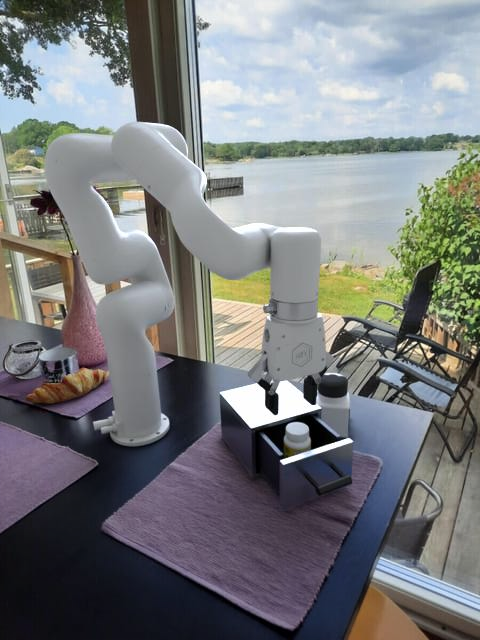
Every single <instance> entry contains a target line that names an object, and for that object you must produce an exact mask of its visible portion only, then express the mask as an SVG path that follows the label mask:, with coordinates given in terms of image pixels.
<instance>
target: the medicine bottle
mask: <svg viewBox="0 0 480 640" xmlns="http://www.w3.org/2000/svg"><path fill="white" fill-rule="evenodd" d="M348 389H349V380H348V378H347V377H346V376H344V375H343V374H341V373H336V372H326V373H325V374H324V375H323V376H322V377H321V382H320V383H319V384H318V390H317V397H316V404H317V405H318V406H320V407H321V408H322V415H321V420H322V421H323V422H324V423H326V424H327V425H328V426H329V427H330V428H332V429H333V430H334V431H335V432H336V433H338V434H339V435H340V436H341V438H345V439H348V438H349V436H350V420H351V418H350V417H351V399H350V398H351V397H350V392H349V390H348Z"/></svg>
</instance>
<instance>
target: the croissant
mask: <svg viewBox="0 0 480 640" xmlns="http://www.w3.org/2000/svg"><path fill="white" fill-rule="evenodd" d="M77 370H78V374H75V373H72V374H68V375H67V376H65V377H63V379H62V382H60V383H45V382H44V381H43V382H42V383H41V386H40V387H36V388H35V389H34V390H32V391H31V392H30V394H27V395H25V398H26V400H27V401H28V402H29V403H37V404H41V403H42V404H46V405H47V404H48V405H49V404H55V403H60V402H66V401H71V400H72V399H75V398H79V397H82V396H84V395H85V394H88V392H90V391H91V390H93V389H95V388H97V387H98V386H99V385H101V384H102V383H103V384H104V382H106V381H107V380H108V379H109V378H110V374H109V370H102V369H99V368H96V369H94V370H93V369H88V368H85V367H84V366H83V367H81V368H79V369H77Z"/></svg>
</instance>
